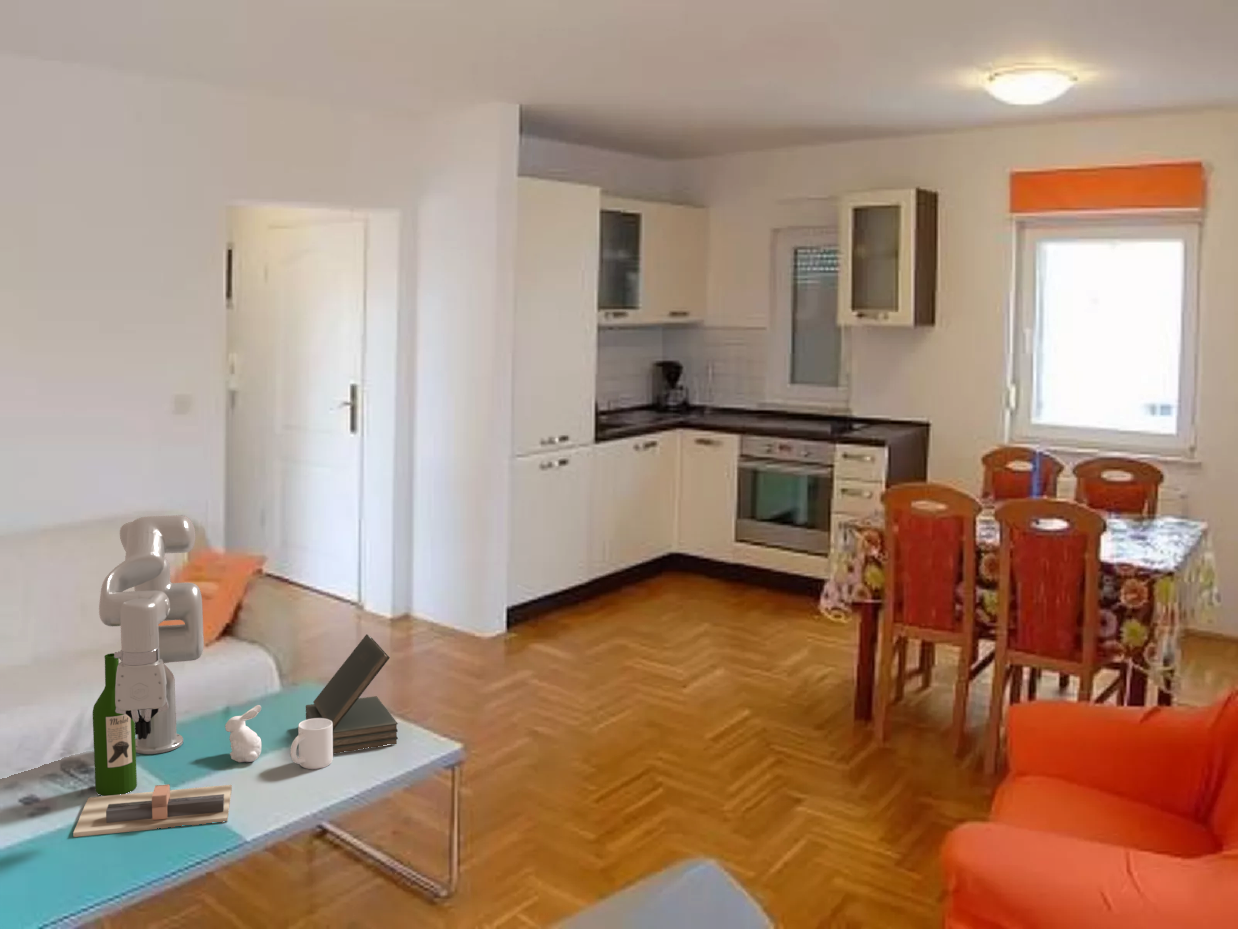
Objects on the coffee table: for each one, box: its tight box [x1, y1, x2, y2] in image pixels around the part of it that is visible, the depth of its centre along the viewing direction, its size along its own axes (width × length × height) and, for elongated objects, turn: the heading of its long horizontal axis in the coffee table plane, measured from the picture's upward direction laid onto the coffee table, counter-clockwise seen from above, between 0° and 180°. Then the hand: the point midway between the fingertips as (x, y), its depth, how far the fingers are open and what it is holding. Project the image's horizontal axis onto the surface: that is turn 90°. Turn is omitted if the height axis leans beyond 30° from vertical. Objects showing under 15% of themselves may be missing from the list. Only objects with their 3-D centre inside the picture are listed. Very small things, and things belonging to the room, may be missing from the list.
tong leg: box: [107, 794, 224, 808], centre depth 246 cm, size 24×2×2 cm, turn 106°
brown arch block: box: [152, 783, 171, 820], centre depth 244 cm, size 6×3×5 cm, turn 16°
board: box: [72, 784, 233, 838], centre depth 248 cm, size 18×31×4 cm, turn 106°
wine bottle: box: [92, 652, 138, 796], centre depth 257 cm, size 9×9×32 cm
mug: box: [290, 718, 334, 770], centre depth 275 cm, size 12×8×10 cm
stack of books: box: [305, 634, 399, 755], centre depth 295 cm, size 23×20×25 cm
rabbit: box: [224, 704, 262, 763], centre depth 279 cm, size 12×9×12 cm
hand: (143, 737), depth 242 cm, fingers closed
